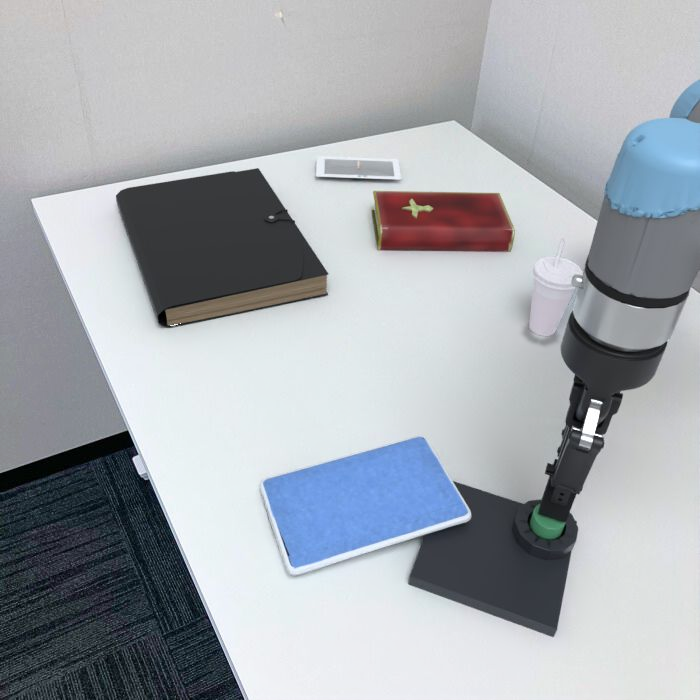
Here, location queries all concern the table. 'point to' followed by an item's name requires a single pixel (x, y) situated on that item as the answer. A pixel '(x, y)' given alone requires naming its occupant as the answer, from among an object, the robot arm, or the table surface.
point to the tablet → (360, 504)
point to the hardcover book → (441, 221)
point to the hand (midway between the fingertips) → (553, 512)
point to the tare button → (545, 525)
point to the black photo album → (217, 247)
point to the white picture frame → (357, 167)
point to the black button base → (498, 562)
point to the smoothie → (551, 292)
